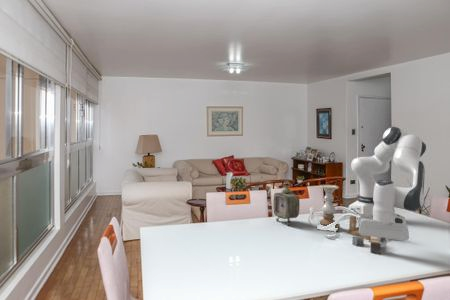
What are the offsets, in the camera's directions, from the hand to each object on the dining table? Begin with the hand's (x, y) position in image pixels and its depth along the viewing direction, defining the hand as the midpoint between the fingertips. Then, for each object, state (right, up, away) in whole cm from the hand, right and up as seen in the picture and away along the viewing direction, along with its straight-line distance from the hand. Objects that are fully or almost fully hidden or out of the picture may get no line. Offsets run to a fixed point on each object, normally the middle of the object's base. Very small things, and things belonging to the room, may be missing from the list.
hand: (382, 247), depth 147 cm
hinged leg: (-1, -2, +5) cm, 6 cm away
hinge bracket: (+2, -2, +13) cm, 13 cm away
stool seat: (+4, -1, +23) cm, 24 cm away
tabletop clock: (-34, 0, +47) cm, 58 cm away
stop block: (-7, -2, +10) cm, 12 cm away
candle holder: (-13, -1, +37) cm, 39 cm away
